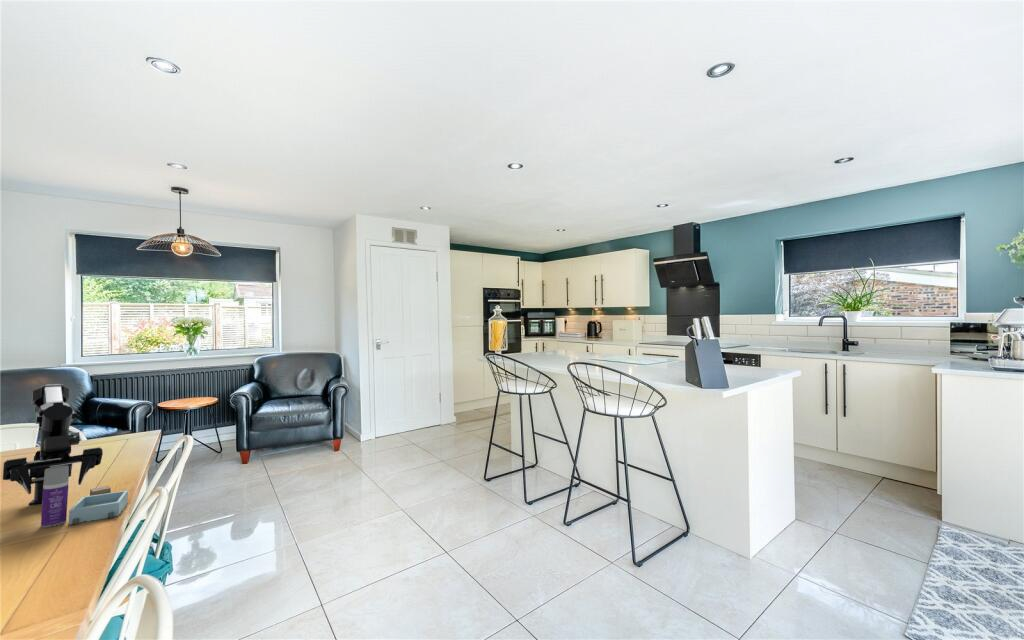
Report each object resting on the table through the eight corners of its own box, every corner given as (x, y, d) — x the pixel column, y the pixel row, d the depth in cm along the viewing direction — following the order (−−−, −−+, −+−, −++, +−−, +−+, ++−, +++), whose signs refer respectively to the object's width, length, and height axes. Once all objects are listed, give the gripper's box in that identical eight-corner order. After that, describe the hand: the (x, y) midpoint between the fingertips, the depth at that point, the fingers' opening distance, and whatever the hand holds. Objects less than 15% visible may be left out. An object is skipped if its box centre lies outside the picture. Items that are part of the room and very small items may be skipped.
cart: (83, 508, 123) (83, 495, 123) (128, 501, 129) (128, 489, 129) (66, 526, 111) (67, 512, 111) (117, 517, 116) (118, 503, 117)
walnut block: (89, 502, 129) (90, 488, 129) (107, 498, 132) (107, 485, 132) (92, 504, 126) (92, 491, 126) (110, 500, 129) (110, 487, 130)
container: (49, 528, 110) (52, 471, 110) (35, 527, 111) (39, 470, 111) (71, 521, 114) (74, 465, 115) (57, 519, 115) (61, 464, 116)
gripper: (6, 429, 111) (2, 479, 103) (103, 419, 125) (107, 463, 117) (4, 455, 115) (1, 505, 107) (98, 442, 129) (101, 485, 122)
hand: (55, 488), depth 113 cm, fingers open, 9 cm apart
